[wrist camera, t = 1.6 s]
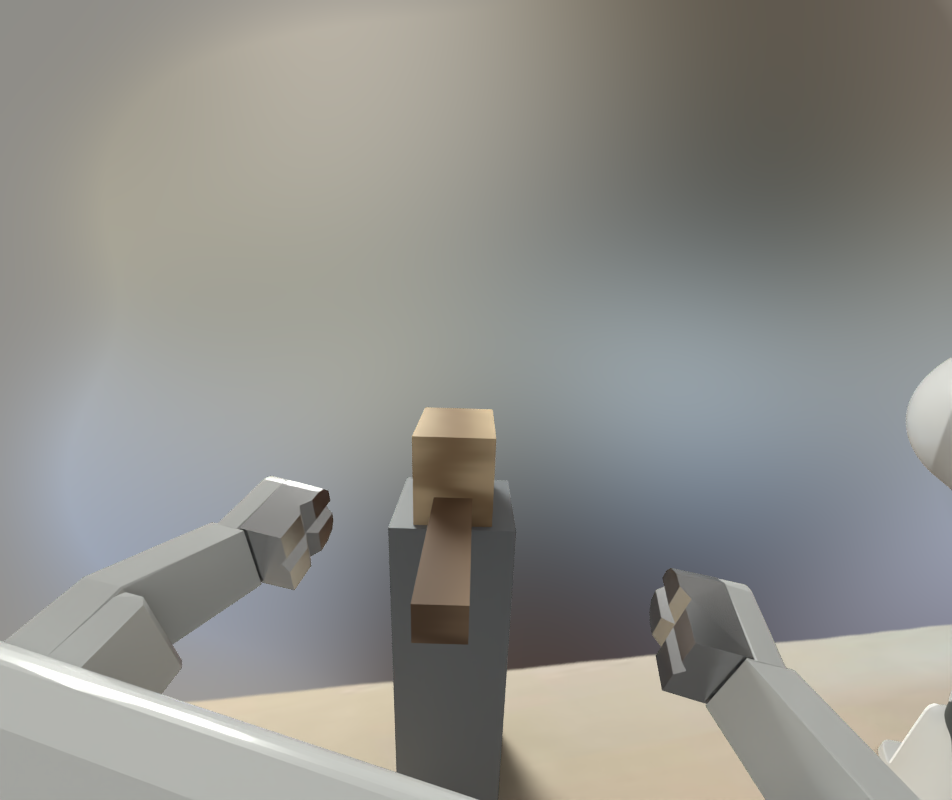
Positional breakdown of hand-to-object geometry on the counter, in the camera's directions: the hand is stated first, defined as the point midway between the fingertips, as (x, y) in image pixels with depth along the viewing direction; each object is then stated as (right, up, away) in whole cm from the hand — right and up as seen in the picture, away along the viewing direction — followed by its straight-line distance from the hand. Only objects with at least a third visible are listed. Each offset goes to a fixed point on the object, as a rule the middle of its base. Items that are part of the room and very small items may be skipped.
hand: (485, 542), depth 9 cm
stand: (-2, -29, +25) cm, 38 cm away
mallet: (-2, -5, +14) cm, 15 cm away
